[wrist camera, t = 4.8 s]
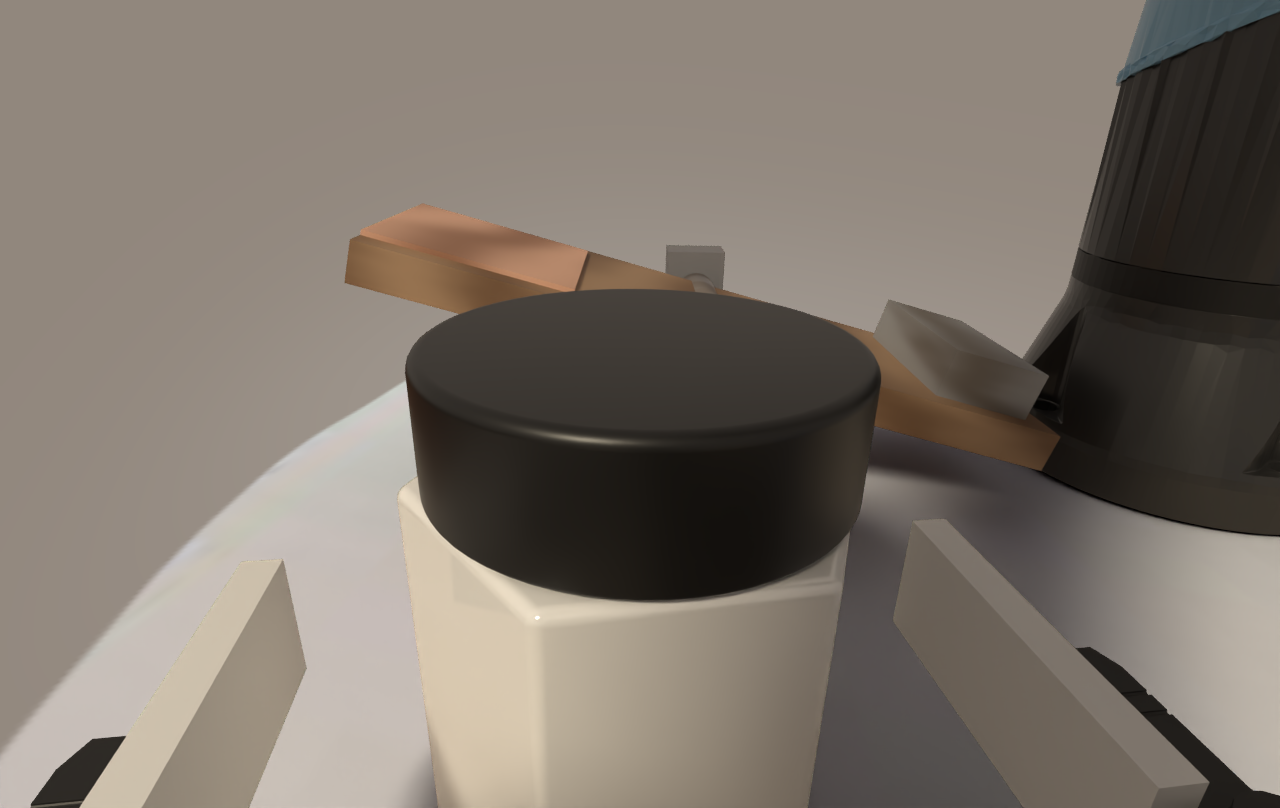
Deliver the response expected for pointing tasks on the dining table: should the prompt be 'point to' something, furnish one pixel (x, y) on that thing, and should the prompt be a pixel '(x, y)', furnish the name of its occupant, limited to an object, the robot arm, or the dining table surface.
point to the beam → (902, 343)
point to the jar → (631, 545)
